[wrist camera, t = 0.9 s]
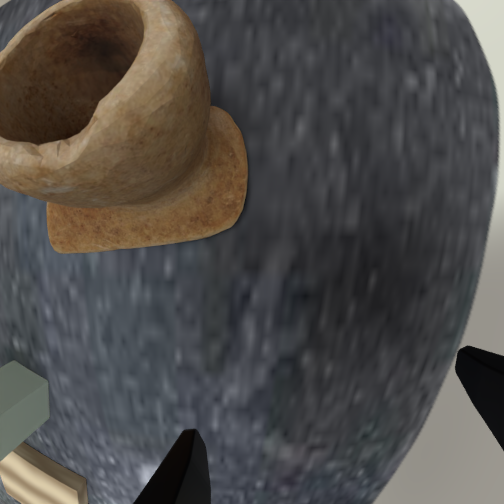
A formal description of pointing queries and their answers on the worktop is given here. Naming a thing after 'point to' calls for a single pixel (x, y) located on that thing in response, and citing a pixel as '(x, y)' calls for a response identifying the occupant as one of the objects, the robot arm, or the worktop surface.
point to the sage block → (20, 405)
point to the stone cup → (118, 127)
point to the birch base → (40, 479)
